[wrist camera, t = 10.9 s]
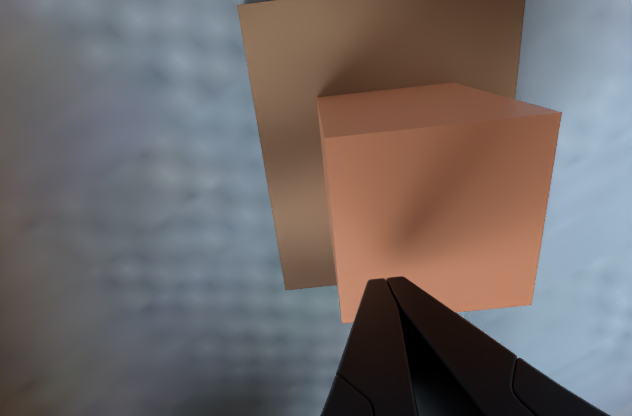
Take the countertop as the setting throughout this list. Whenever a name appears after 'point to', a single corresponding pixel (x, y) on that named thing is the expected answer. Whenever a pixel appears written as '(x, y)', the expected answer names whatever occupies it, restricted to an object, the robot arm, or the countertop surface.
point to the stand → (355, 88)
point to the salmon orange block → (437, 192)
